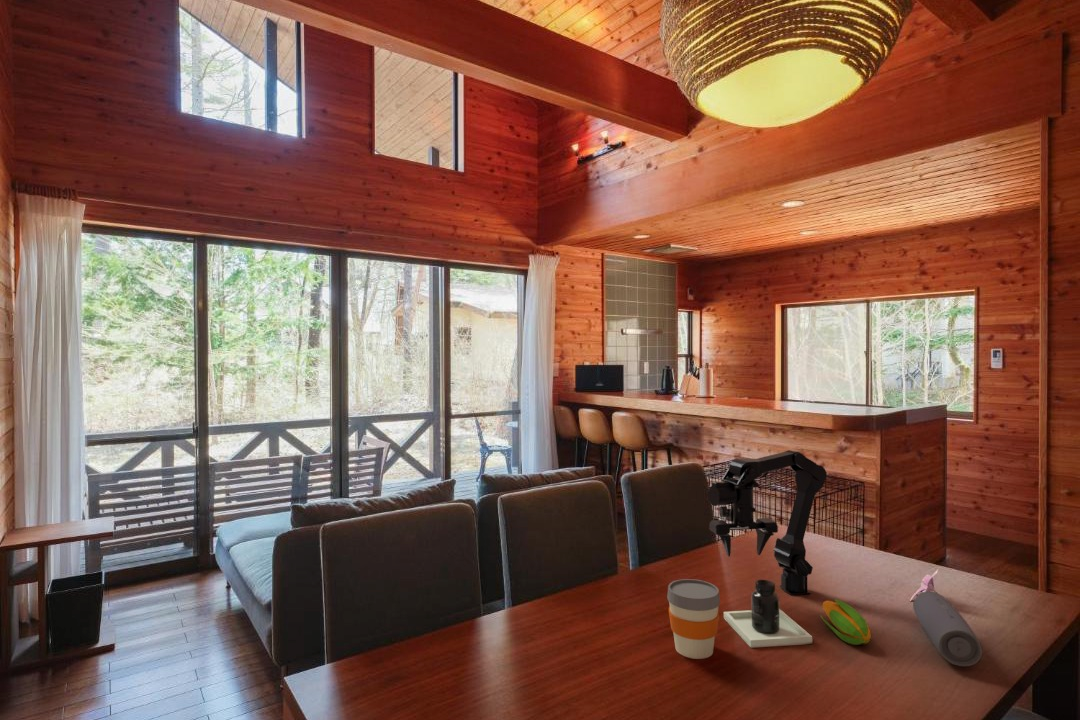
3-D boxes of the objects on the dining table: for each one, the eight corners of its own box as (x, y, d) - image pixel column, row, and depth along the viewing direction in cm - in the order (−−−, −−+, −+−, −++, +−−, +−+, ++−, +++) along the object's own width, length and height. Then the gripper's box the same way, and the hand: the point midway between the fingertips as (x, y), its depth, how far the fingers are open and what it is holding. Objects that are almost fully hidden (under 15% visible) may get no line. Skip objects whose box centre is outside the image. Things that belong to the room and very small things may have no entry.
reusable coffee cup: (692, 668, 133) (691, 603, 133) (657, 644, 144) (656, 584, 144) (732, 654, 139) (731, 592, 139) (695, 632, 150) (694, 575, 150)
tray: (779, 615, 159) (779, 608, 159) (812, 643, 143) (812, 636, 143) (723, 618, 158) (723, 611, 158) (750, 647, 142) (750, 640, 142)
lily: (931, 594, 174) (912, 564, 176) (969, 592, 164) (948, 561, 166) (910, 615, 168) (891, 584, 170) (948, 615, 158) (927, 582, 160)
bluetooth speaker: (985, 675, 128) (985, 631, 128) (936, 668, 131) (936, 624, 131) (952, 629, 150) (952, 591, 149) (910, 624, 153) (910, 587, 153)
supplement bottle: (783, 634, 147) (783, 588, 147) (756, 634, 147) (756, 588, 147) (773, 622, 154) (773, 577, 154) (748, 622, 154) (747, 577, 154)
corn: (849, 620, 139) (810, 587, 159) (847, 652, 139) (808, 615, 159) (880, 622, 139) (837, 589, 159) (878, 653, 139) (835, 616, 159)
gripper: (760, 495, 178) (760, 545, 179) (702, 497, 177) (702, 547, 177) (778, 504, 167) (779, 557, 167) (716, 506, 166) (717, 560, 166)
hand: (743, 555), depth 170 cm, fingers open, 9 cm apart
